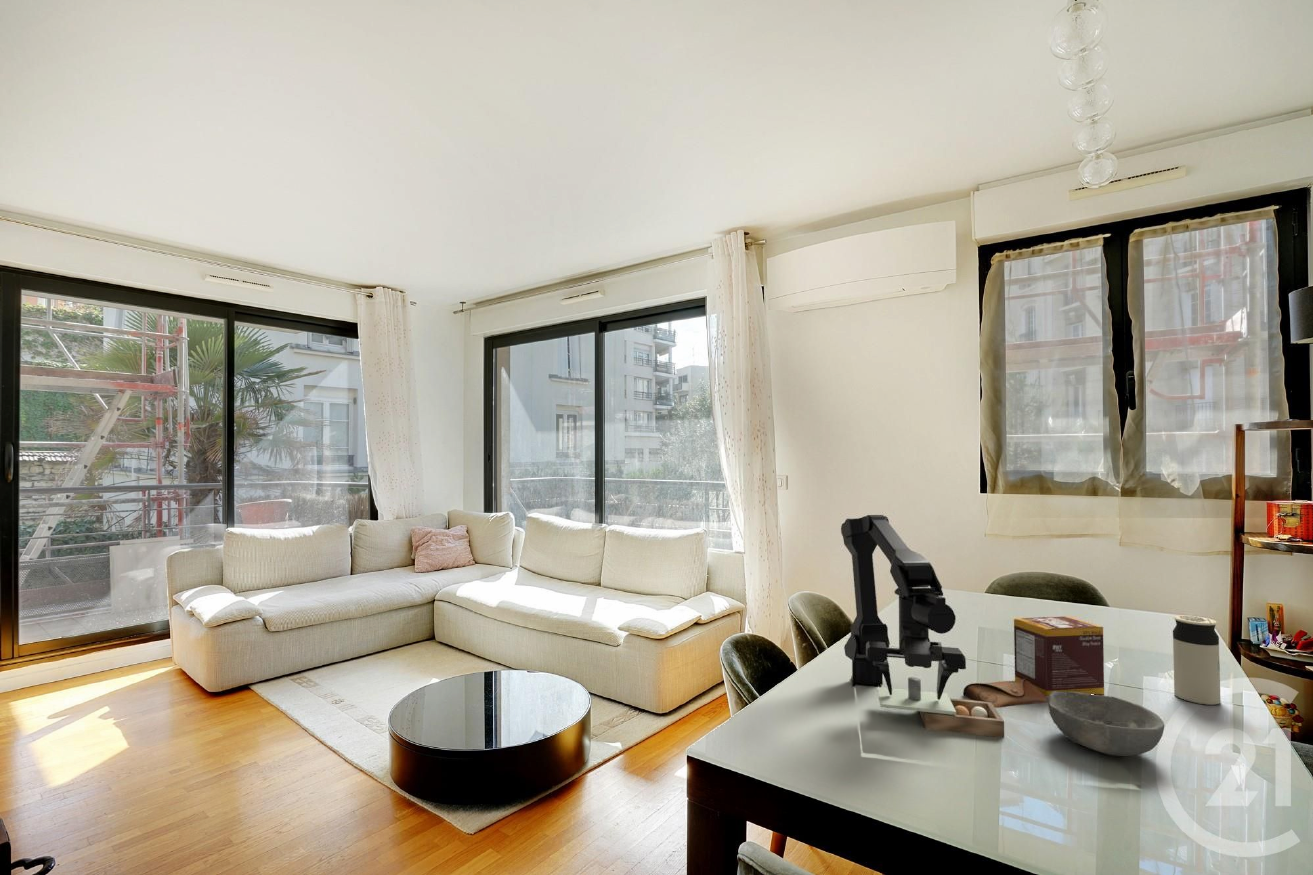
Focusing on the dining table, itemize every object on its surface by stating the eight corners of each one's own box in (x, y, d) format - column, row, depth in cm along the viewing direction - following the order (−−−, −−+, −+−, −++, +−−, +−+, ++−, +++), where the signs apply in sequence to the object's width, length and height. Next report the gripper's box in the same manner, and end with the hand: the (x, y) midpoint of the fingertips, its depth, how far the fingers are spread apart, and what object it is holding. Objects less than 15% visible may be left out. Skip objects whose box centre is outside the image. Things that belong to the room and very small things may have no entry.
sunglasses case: (991, 712, 134) (979, 679, 138) (970, 718, 140) (959, 686, 144) (1058, 704, 139) (1044, 672, 143) (1035, 710, 145) (1022, 680, 148)
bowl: (1172, 783, 105) (1171, 734, 105) (1048, 756, 114) (1047, 712, 115) (1157, 743, 120) (1156, 700, 121) (1048, 722, 130) (1047, 682, 130)
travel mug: (1173, 699, 143) (1171, 619, 143) (1175, 690, 148) (1173, 613, 149) (1220, 708, 137) (1217, 625, 138) (1221, 698, 143) (1218, 618, 144)
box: (925, 731, 125) (925, 713, 125) (919, 712, 134) (918, 695, 134) (1004, 740, 121) (1004, 721, 121) (991, 719, 131) (991, 702, 131)
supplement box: (1105, 694, 145) (1104, 626, 146) (1046, 698, 143) (1045, 628, 144) (1069, 679, 156) (1068, 615, 156) (1013, 682, 153) (1012, 617, 154)
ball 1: (954, 723, 127) (954, 708, 128) (951, 717, 130) (951, 702, 130) (970, 724, 127) (970, 709, 127) (967, 718, 129) (967, 704, 130)
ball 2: (973, 724, 127) (972, 708, 127) (969, 718, 130) (969, 703, 130) (989, 725, 126) (989, 710, 126) (985, 719, 129) (985, 705, 129)
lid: (880, 707, 127) (880, 683, 127) (877, 689, 137) (876, 668, 137) (956, 714, 123) (955, 691, 123) (947, 696, 133) (946, 674, 133)
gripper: (868, 626, 125) (869, 706, 125) (971, 634, 120) (972, 717, 120) (865, 613, 136) (866, 687, 136) (959, 620, 131) (960, 696, 131)
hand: (914, 696), depth 130 cm, fingers open, 9 cm apart
